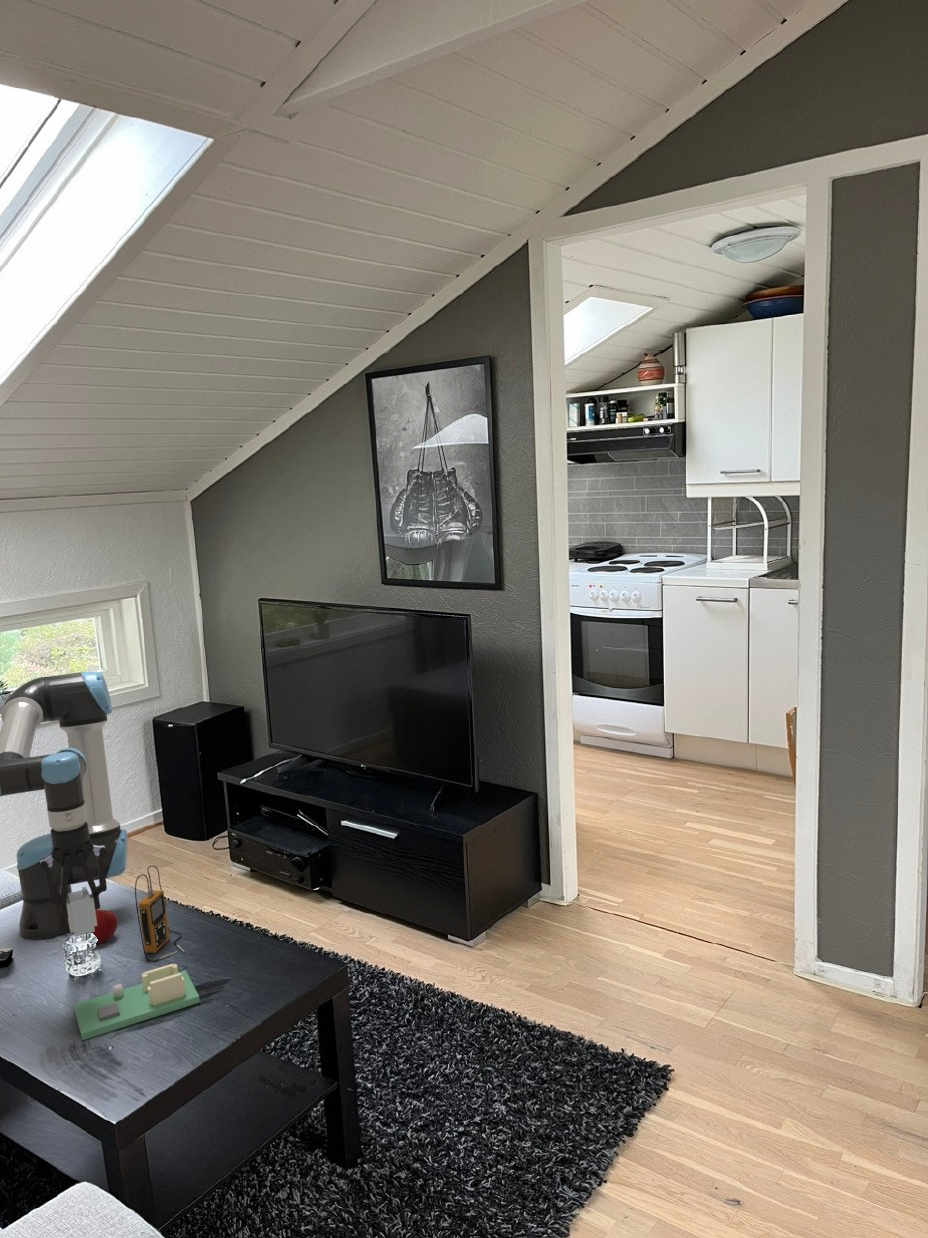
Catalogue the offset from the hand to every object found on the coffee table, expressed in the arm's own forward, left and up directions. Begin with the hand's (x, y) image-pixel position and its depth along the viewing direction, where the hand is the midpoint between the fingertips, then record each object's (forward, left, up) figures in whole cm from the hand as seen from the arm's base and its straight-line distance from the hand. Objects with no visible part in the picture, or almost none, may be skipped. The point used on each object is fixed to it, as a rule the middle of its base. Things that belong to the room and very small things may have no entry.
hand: (83, 926), depth 209 cm
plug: (0, 0, -1) cm, 1 cm away
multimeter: (-13, +20, -17) cm, 29 cm away
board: (+10, +8, -17) cm, 21 cm away
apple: (-27, +6, -17) cm, 33 cm away
